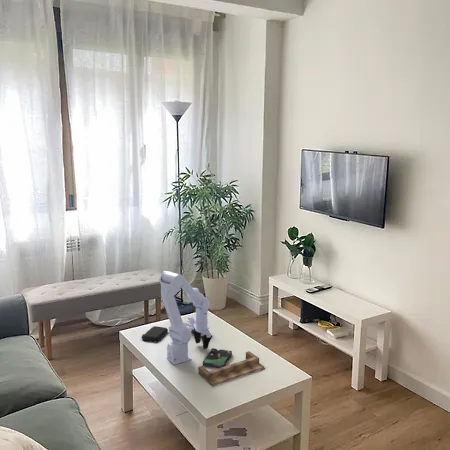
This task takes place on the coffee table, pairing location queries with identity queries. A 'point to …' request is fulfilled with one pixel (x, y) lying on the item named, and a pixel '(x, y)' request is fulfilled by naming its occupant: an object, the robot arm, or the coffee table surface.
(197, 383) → the coffee table surface
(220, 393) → the coffee table surface
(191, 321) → the water lily
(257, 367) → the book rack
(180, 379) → the coffee table surface
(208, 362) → the disk drive
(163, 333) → the carrying case or bag
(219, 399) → the coffee table surface
